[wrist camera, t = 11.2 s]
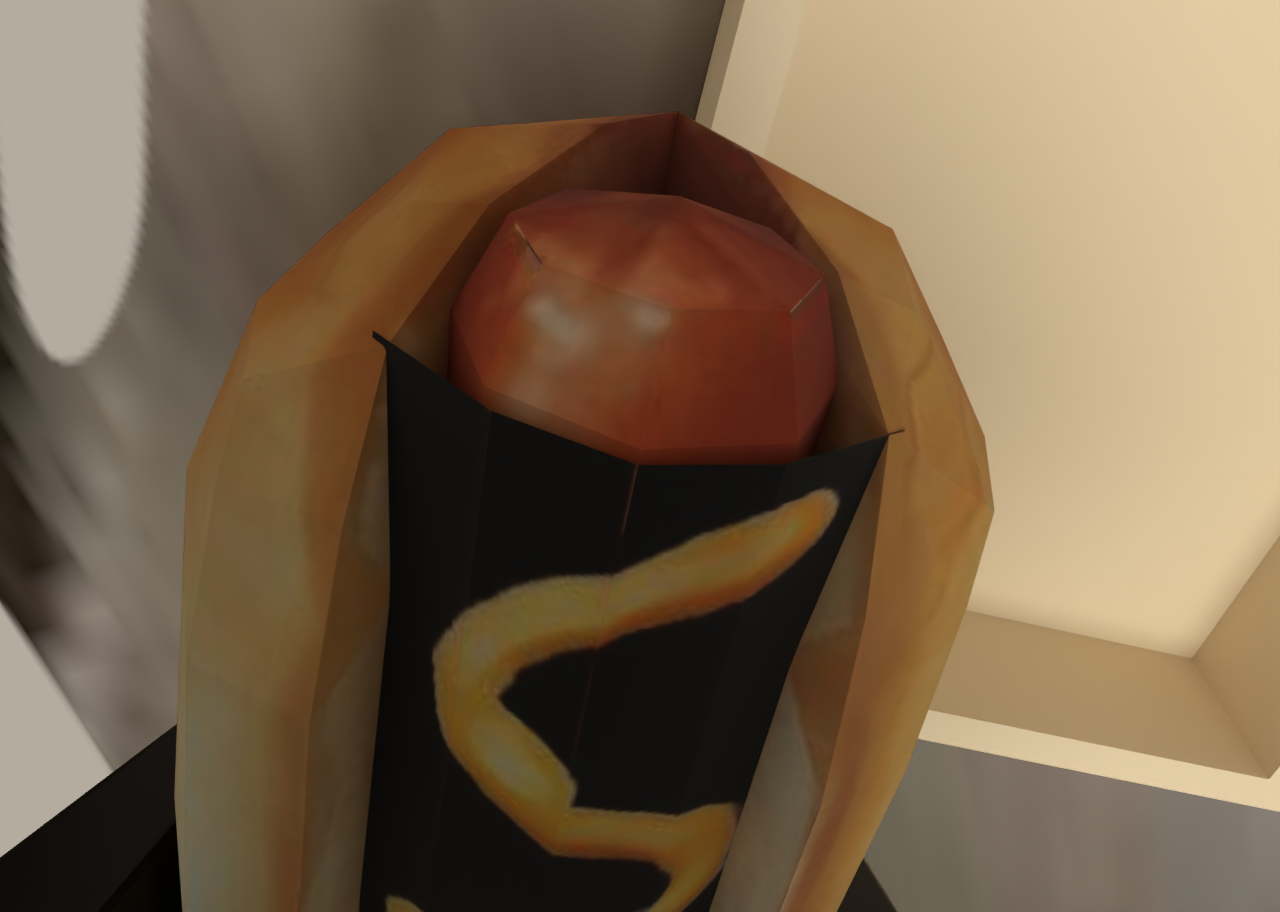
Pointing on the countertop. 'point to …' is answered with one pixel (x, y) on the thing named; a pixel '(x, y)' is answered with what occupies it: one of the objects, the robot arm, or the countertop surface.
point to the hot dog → (571, 541)
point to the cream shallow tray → (1076, 342)
